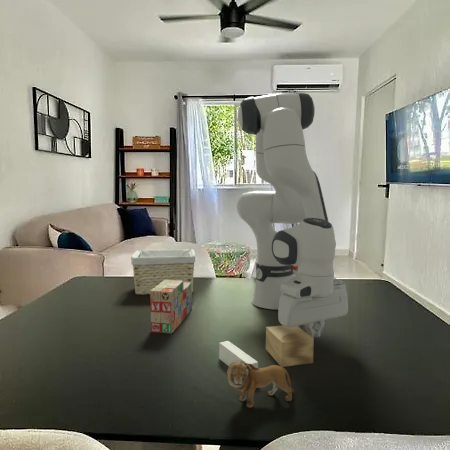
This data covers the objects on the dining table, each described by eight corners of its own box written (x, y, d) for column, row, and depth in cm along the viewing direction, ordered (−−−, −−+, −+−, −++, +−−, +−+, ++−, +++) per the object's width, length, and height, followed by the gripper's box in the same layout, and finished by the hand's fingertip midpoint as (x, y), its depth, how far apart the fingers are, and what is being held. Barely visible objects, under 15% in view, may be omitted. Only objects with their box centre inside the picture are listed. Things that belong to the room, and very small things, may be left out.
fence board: (228, 356, 97) (228, 340, 97) (257, 379, 86) (258, 362, 85) (219, 358, 96) (219, 342, 96) (248, 382, 85) (248, 364, 84)
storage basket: (130, 296, 148) (129, 256, 146) (136, 284, 164) (135, 249, 162) (195, 294, 150) (195, 256, 148) (195, 283, 166) (195, 248, 164)
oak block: (294, 346, 104) (295, 324, 103) (312, 363, 94) (313, 339, 94) (265, 349, 102) (266, 327, 101) (281, 367, 92) (281, 342, 92)
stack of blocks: (173, 308, 133) (173, 272, 132) (192, 310, 132) (191, 273, 131) (150, 332, 113) (149, 289, 111) (171, 334, 111) (171, 291, 110)
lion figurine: (233, 417, 73) (234, 369, 72) (221, 402, 77) (221, 357, 76) (301, 399, 79) (302, 355, 78) (286, 386, 83) (287, 344, 82)
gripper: (336, 276, 108) (335, 326, 109) (275, 285, 98) (273, 340, 99) (355, 281, 102) (352, 334, 104) (291, 292, 92) (289, 350, 94)
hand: (313, 337), depth 101 cm, fingers closed
